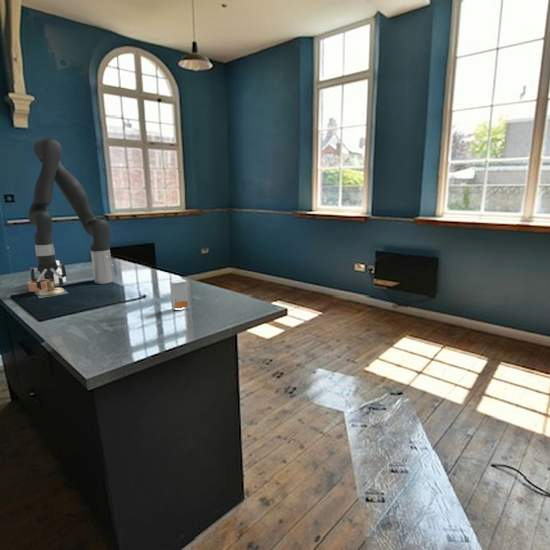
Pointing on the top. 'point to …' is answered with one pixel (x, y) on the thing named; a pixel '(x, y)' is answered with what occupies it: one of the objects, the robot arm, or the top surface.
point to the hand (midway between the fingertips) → (50, 287)
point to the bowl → (33, 285)
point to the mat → (49, 296)
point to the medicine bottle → (54, 276)
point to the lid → (51, 290)
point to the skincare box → (179, 293)
